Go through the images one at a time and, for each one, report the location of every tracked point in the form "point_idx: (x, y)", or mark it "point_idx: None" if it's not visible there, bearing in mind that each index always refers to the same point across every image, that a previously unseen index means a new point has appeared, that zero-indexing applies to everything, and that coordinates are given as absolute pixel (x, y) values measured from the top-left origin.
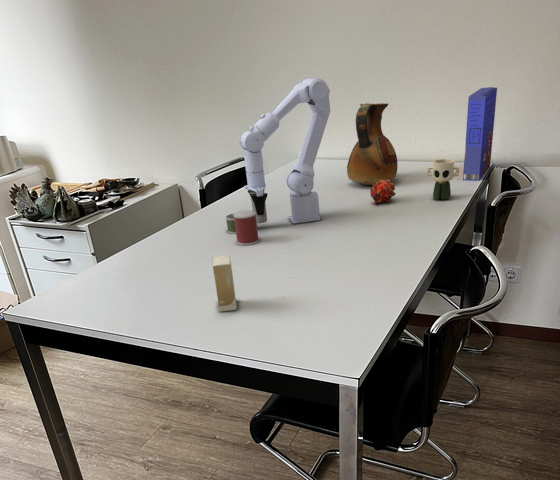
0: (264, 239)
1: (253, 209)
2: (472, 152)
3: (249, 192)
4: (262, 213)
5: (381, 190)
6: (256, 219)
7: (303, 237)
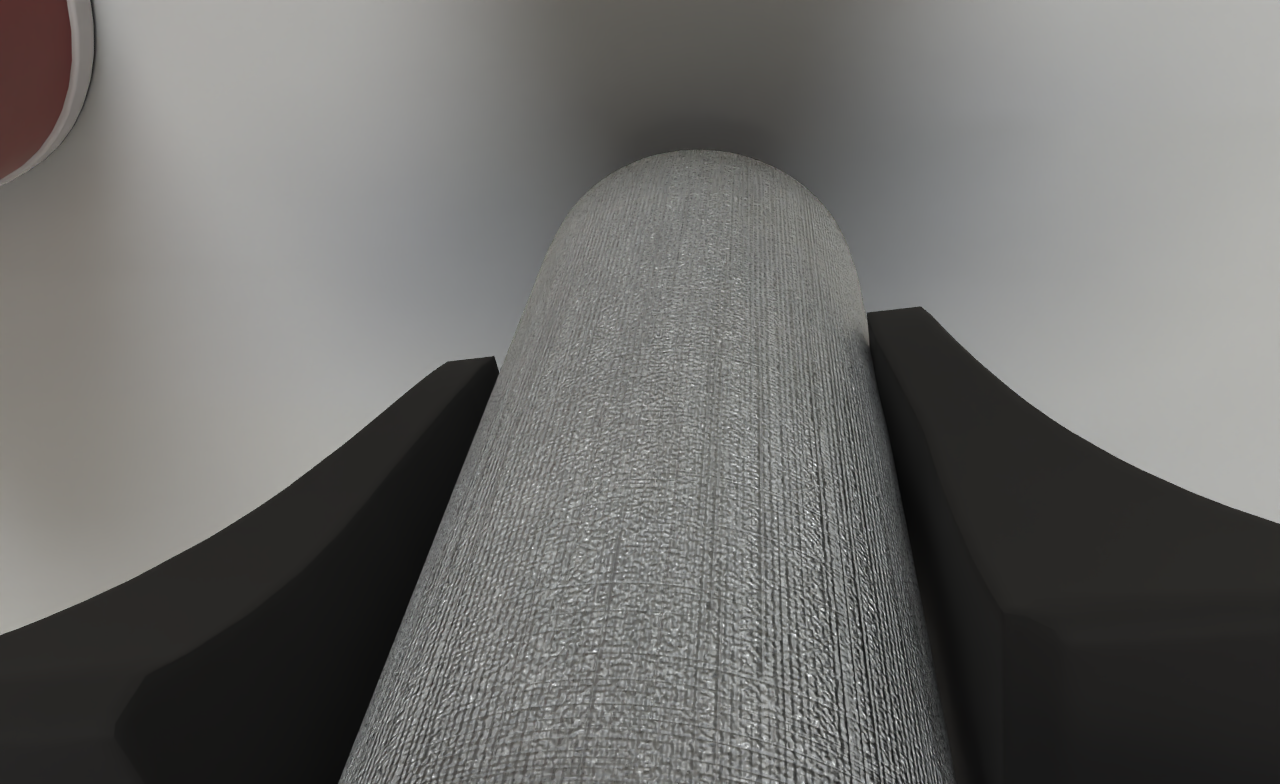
0: (18, 283)
1: (545, 339)
2: None
3: (998, 653)
4: None
5: None
6: (549, 257)
7: None
